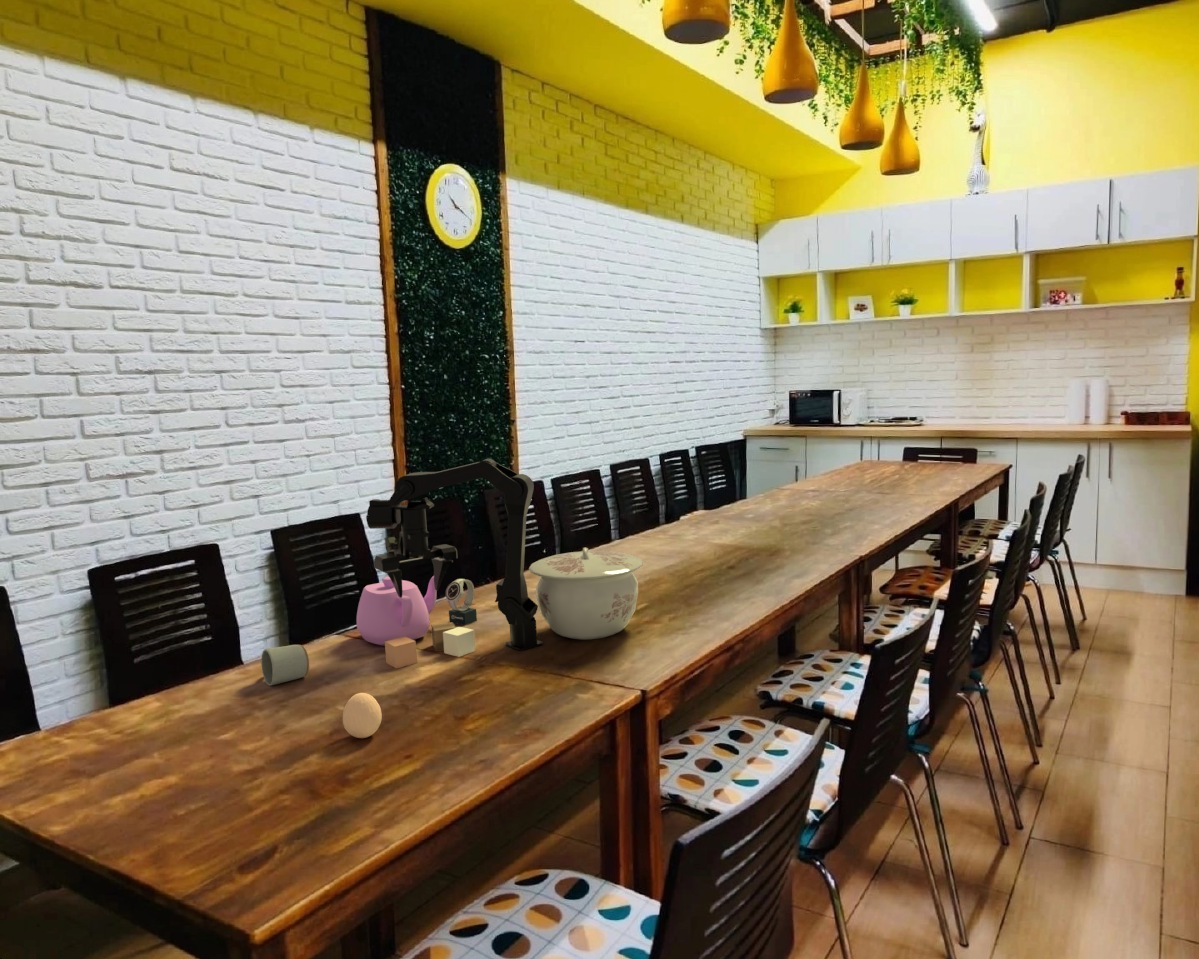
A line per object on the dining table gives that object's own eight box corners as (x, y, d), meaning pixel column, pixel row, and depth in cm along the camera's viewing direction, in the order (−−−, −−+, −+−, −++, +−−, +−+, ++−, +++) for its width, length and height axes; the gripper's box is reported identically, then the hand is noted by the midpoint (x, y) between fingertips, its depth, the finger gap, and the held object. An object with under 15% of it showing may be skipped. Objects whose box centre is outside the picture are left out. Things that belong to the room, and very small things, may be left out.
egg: (344, 747, 148) (340, 703, 147) (344, 732, 155) (340, 690, 154) (384, 741, 150) (380, 697, 149) (382, 726, 156) (379, 684, 155)
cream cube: (475, 651, 197) (474, 629, 197) (459, 657, 194) (457, 635, 193) (460, 647, 201) (459, 626, 200) (444, 653, 197) (442, 632, 196)
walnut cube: (457, 648, 200) (456, 627, 199) (435, 651, 198) (434, 630, 198) (454, 642, 205) (452, 622, 204) (432, 645, 203) (431, 625, 202)
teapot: (378, 657, 196) (373, 593, 194) (349, 636, 213) (344, 576, 211) (470, 637, 208) (466, 576, 206) (435, 618, 226) (431, 562, 224)
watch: (444, 624, 220) (441, 582, 218) (465, 616, 226) (463, 575, 225) (460, 627, 217) (457, 584, 215) (481, 619, 223) (479, 577, 222)
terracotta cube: (417, 663, 191) (415, 641, 190) (396, 668, 188) (394, 646, 187) (406, 657, 195) (405, 636, 194) (386, 663, 192) (384, 641, 191)
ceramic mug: (312, 679, 183) (309, 644, 182) (274, 689, 178) (270, 653, 177) (294, 668, 191) (290, 635, 190) (256, 678, 186) (253, 643, 185)
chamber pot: (578, 658, 189) (573, 565, 186) (510, 632, 210) (505, 549, 208) (671, 630, 206) (668, 545, 203) (600, 608, 227) (596, 531, 225)
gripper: (435, 518, 211) (439, 580, 213) (362, 529, 200) (367, 594, 202) (456, 523, 202) (460, 588, 204) (381, 535, 191) (386, 603, 193)
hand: (418, 593), depth 201 cm, fingers open, 9 cm apart
